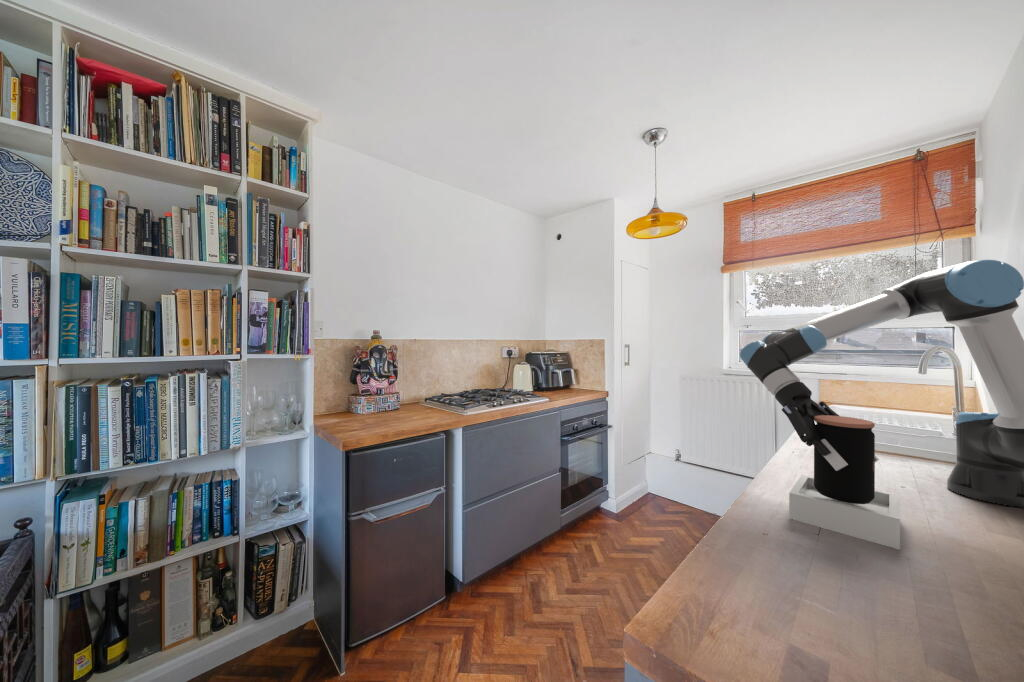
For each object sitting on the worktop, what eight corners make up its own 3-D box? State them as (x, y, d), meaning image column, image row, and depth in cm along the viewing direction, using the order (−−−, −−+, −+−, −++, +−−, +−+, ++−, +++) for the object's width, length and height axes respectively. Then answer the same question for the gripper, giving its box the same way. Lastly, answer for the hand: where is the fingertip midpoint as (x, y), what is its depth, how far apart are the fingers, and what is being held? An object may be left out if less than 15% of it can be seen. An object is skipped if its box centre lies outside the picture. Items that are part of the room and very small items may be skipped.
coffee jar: (887, 507, 80) (887, 425, 80) (831, 503, 82) (831, 422, 83) (853, 489, 91) (853, 416, 91) (804, 485, 93) (804, 414, 93)
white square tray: (898, 522, 86) (898, 494, 86) (900, 551, 74) (900, 519, 74) (801, 498, 99) (801, 474, 99) (789, 520, 87) (789, 492, 87)
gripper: (805, 396, 105) (874, 467, 90) (746, 399, 97) (811, 478, 83) (826, 379, 100) (903, 452, 85) (766, 381, 92) (839, 461, 78)
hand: (858, 465), depth 84 cm, fingers closed on coffee jar, 11 cm apart
